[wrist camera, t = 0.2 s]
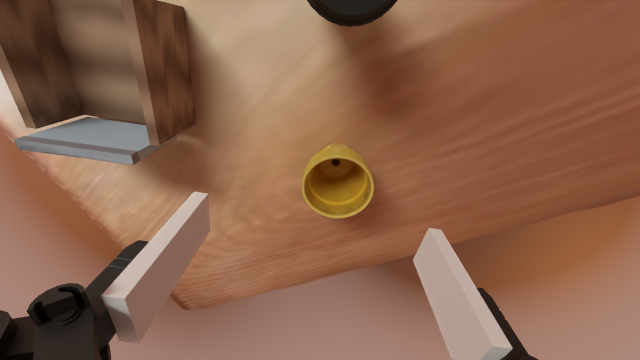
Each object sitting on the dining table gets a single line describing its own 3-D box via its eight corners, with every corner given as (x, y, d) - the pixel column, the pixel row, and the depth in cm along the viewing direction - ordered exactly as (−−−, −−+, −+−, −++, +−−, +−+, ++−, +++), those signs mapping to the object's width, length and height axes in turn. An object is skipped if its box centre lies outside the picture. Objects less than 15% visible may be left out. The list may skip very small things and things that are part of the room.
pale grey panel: (87, 116, 38) (14, 139, 29) (176, 129, 38) (131, 155, 29) (90, 125, 38) (19, 149, 29) (177, 137, 39) (133, 164, 30)
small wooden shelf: (55, -14, 32) (-46, -35, 24) (183, 6, 33) (131, -6, 24) (92, 108, 40) (26, 127, 31) (195, 123, 41) (159, 145, 32)
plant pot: (298, 176, 45) (292, 208, 36) (317, 123, 40) (314, 145, 32) (352, 192, 46) (357, 227, 38) (375, 143, 42) (388, 169, 33)
